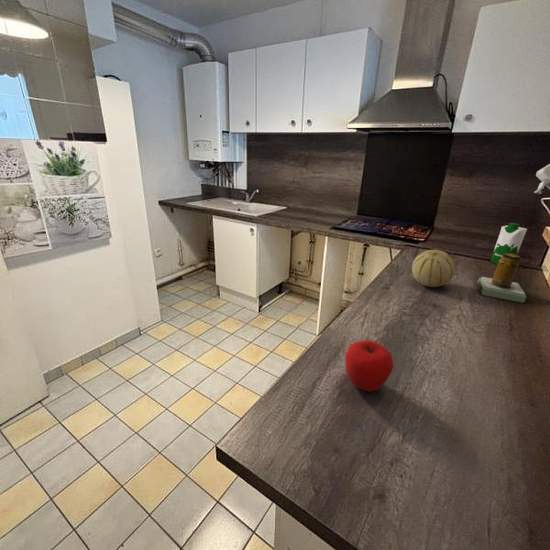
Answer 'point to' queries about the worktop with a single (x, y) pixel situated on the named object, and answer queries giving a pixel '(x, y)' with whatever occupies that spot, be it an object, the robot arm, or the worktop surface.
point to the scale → (501, 291)
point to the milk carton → (508, 241)
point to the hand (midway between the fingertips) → (547, 204)
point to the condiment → (506, 272)
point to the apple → (368, 365)
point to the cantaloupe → (433, 268)
